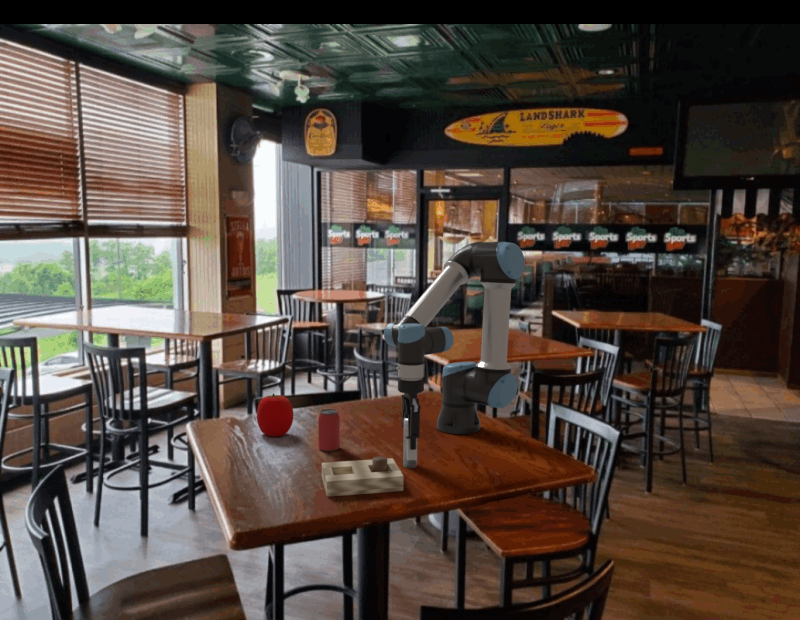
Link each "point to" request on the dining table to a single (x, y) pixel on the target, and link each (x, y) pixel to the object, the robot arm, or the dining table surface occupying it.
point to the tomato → (275, 415)
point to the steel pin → (406, 462)
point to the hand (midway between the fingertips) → (410, 456)
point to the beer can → (329, 430)
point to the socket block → (361, 477)
